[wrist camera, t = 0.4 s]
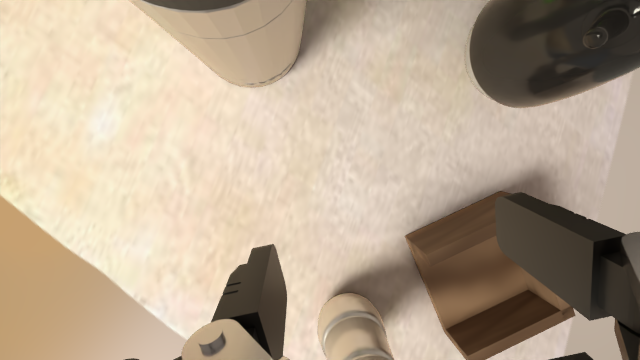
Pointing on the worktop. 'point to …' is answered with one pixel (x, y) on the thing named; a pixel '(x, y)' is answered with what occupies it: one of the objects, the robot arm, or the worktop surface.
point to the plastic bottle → (352, 330)
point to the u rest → (481, 284)
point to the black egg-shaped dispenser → (551, 48)
